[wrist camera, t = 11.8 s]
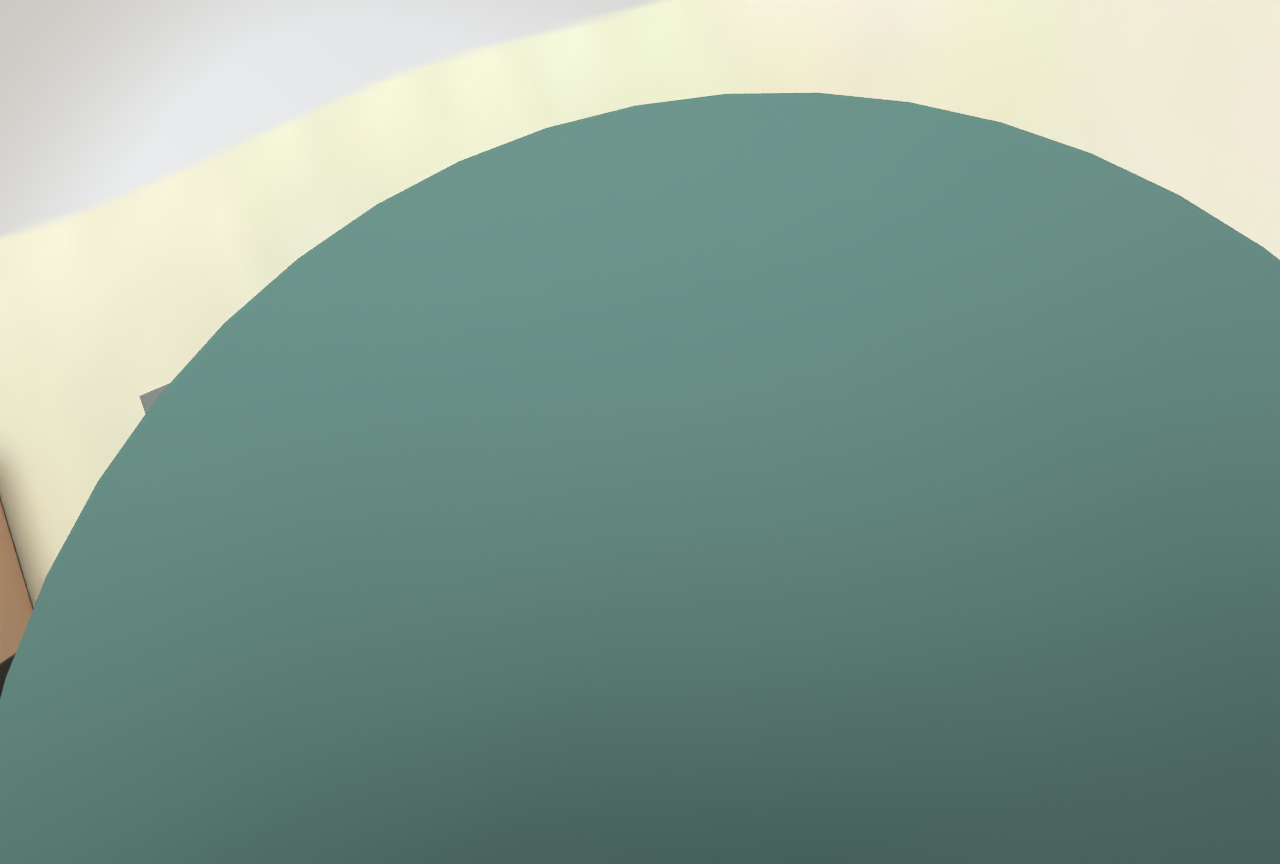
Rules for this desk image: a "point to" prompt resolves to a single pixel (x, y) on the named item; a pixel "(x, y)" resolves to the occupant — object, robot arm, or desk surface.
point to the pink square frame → (11, 595)
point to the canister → (693, 523)
